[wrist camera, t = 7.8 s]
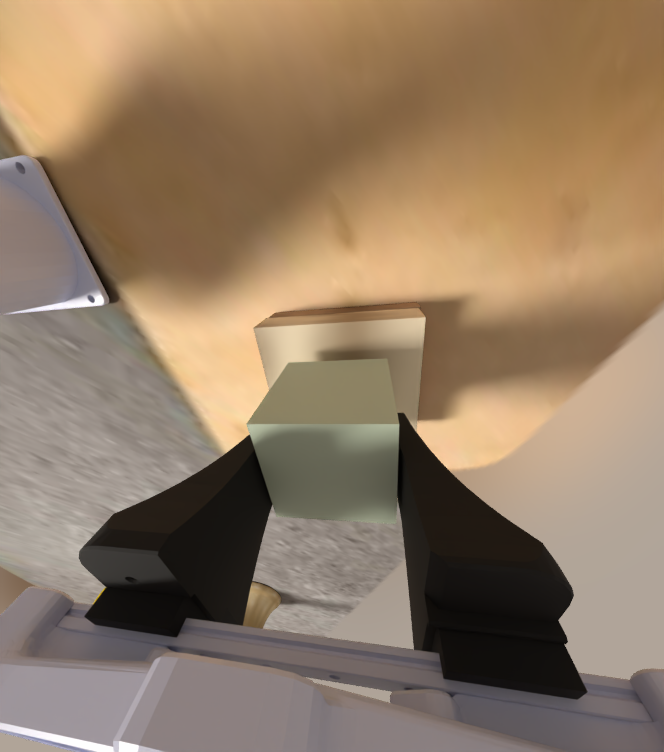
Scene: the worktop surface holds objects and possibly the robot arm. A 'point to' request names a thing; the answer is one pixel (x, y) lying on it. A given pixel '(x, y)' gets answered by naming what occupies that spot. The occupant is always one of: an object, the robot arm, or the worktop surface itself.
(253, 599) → the hand bell
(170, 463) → the worktop surface
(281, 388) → the cube
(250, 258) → the worktop surface
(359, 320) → the slab top
